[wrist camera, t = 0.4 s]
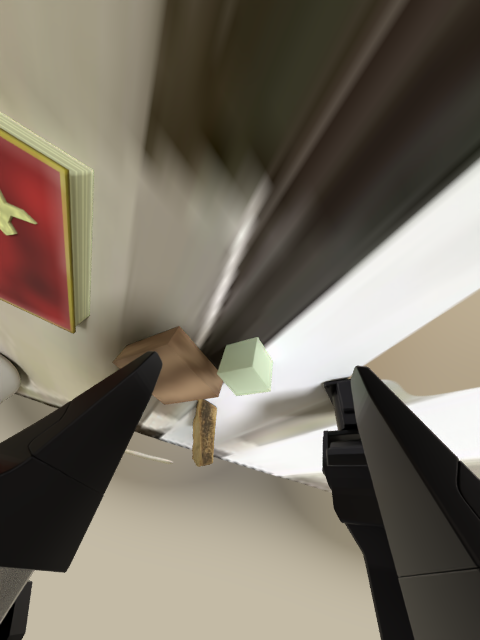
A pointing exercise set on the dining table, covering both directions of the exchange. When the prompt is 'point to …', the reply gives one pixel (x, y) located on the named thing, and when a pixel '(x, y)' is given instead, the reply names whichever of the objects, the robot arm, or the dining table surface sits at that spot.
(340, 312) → the dining table surface
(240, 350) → the green cube
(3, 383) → the jar
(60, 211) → the hardcover book
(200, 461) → the brown tan chunky block
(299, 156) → the dining table surface
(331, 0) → the dining table surface
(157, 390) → the walnut block
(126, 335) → the dining table surface
